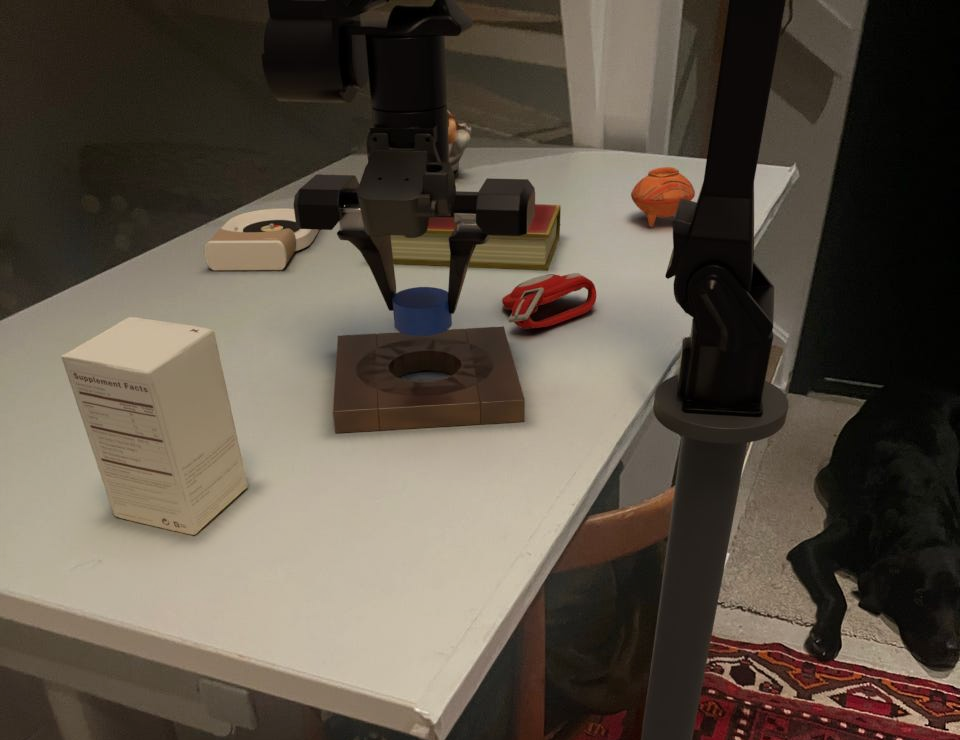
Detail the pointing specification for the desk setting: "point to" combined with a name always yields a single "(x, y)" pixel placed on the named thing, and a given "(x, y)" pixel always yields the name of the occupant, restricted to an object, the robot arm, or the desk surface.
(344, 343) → the token holder
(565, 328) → the desk surface
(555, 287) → the red belt with buckle
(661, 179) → the orange footed clay pot
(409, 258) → the hardcover book
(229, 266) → the record player
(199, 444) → the white packaging box
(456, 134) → the lucky cat figurine
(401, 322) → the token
